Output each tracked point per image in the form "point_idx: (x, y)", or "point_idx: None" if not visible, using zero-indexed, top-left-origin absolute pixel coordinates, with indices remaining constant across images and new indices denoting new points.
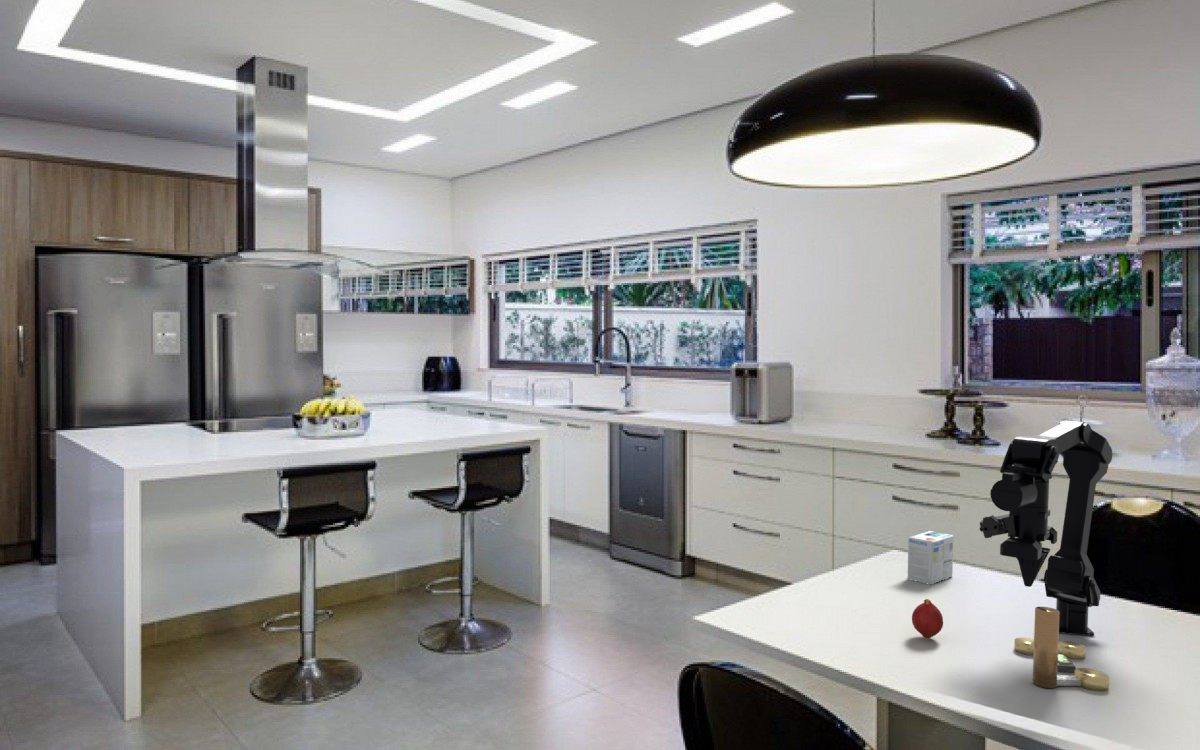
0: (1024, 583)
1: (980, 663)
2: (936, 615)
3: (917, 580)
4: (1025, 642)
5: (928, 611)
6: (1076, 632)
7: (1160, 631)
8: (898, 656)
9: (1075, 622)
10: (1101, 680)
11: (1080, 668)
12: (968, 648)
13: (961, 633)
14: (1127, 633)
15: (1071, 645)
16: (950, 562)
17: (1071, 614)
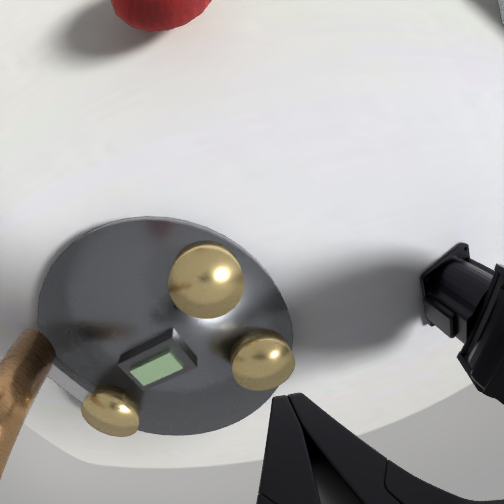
0: (271, 408)
1: (75, 187)
2: (130, 3)
3: (499, 4)
4: (195, 282)
5: None
6: (424, 305)
7: None
8: (12, 42)
9: (436, 314)
10: (96, 429)
11: (118, 405)
12: (162, 119)
13: (281, 68)
14: (453, 348)
15: (263, 368)
16: None
17: (447, 316)
